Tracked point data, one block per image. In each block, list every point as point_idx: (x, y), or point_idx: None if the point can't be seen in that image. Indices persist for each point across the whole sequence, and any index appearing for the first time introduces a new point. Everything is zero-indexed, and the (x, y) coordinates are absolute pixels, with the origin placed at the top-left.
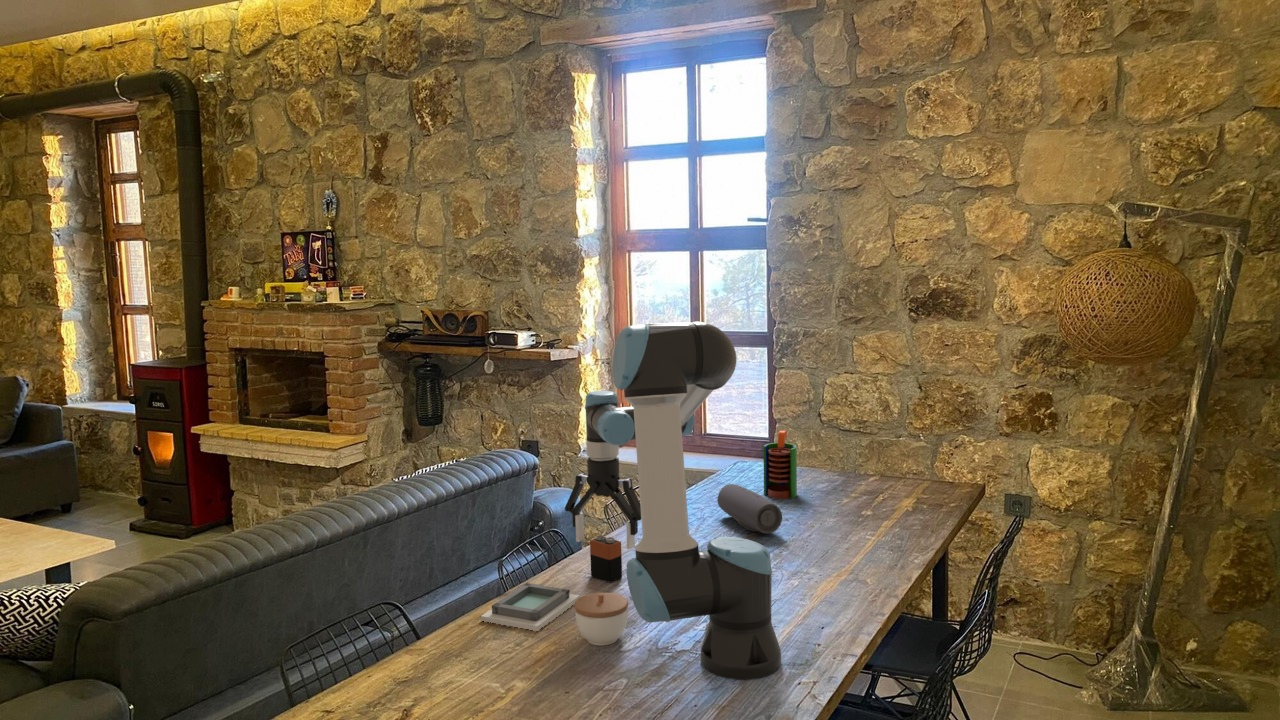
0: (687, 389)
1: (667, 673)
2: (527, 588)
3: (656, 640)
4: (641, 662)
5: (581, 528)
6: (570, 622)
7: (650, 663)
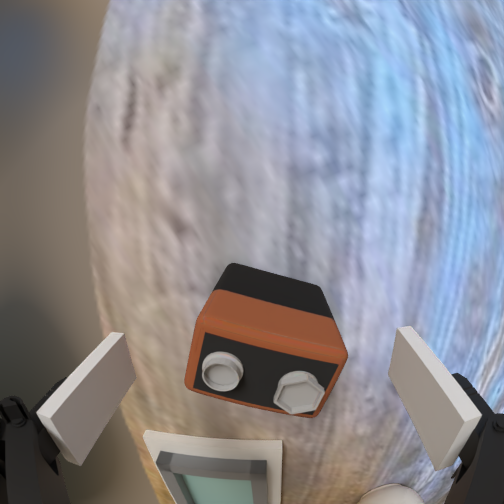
0: None
1: None
2: (174, 473)
3: None
4: (435, 493)
5: (104, 387)
6: (313, 489)
7: (445, 489)
